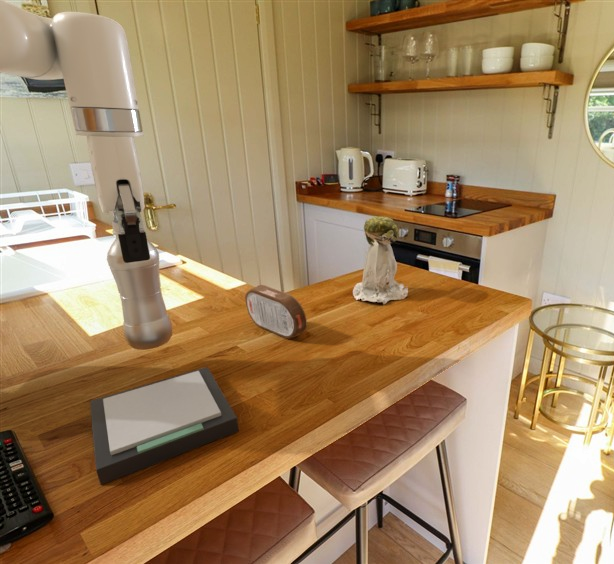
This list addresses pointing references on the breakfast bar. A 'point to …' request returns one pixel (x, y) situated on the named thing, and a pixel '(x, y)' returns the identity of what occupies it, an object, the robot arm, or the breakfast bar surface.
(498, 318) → the breakfast bar surface
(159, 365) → the breakfast bar surface
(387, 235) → the draped concrete planter
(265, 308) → the tin
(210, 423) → the scale
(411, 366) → the breakfast bar surface
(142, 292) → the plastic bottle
